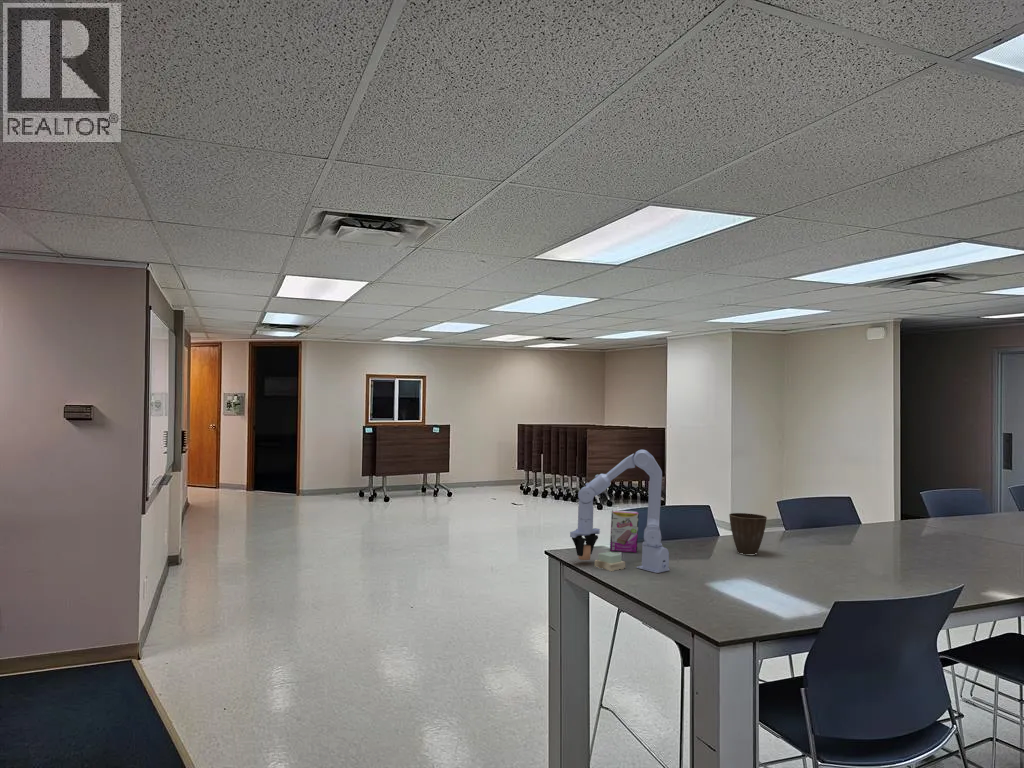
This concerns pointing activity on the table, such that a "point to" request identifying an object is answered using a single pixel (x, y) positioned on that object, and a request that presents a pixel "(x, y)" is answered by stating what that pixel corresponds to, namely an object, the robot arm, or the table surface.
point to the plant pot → (747, 531)
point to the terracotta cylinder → (586, 553)
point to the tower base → (610, 565)
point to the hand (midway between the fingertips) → (584, 554)
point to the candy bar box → (624, 531)
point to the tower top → (609, 557)
